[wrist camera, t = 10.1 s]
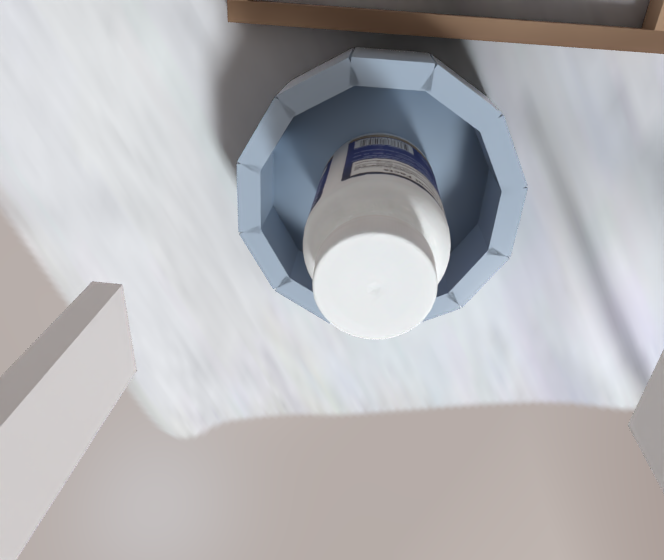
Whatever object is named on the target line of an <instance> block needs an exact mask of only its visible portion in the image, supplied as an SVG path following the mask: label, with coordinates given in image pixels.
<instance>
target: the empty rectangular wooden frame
mask: <svg viewBox="0 0 664 560" xmlns="http://www.w3.org/2000/svg"><path fill="white" fill-rule="evenodd" d="M227 11H228V22H236V23H249V24H263V25H277V26H290V27H304V28H318V29H331V30H345V31H359V32H372V33H386V34H400V35H413V36H427V37H441V38H454V39H468V40H482V41H495V42H509V43H522V44H536V45H550V46H563V47H577V48H591V49H604V50H618V51H632V52H645V53H659V54H664V0H650V2H649V5H648V8H647V11H646V15H645V18H644V21H643V24H642V27H641V28H632V27H618V26H604V25H590V24H576V23H562V22H548V21H534V20H520V19H506V18H492V17H478V16H464V15H450V14H436V13H422V12H408V11H394V10H380V9H366V8H352V7H338V6H324V5H310V4H296V3H282V2H268V1H254V0H227Z"/></svg>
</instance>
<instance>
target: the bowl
mask: <svg viewBox="0 0 664 560" xmlns="http://www.w3.org/2000/svg"><path fill="white" fill-rule="evenodd" d="M368 133H388V134H393V135H397V136H400V137H402V138H404V139H406V140H408V141H410V142H411V143H413V144H414V145H415V146H417V147H418V148H419V149H420V150H421V152H422V153H423V154H424V155H425V157H426V158H427V160H428V162H429V163H430V165H431V168H432V170H433V173H434V176H435V179H436V183H437V187H438V191H439V194H440V198H441V201H442V205H443V209H444V212H445V216H446V219H447V224H448V227H449V231H450V242H451V248H450V257H449V262H448V265H447V268H446V271H445V273H444V275H443V277H442V279H441V280H440V282H439V283H438V286H437V295H436V299H435V302H434V304H433V306H432V309H431V310H430V312H429V313H428V315H427V316H426V317H425V318H424V320H423V321H422V322H424V321H426V320H429V319H432V318H435V317H438V316H441V315H443V314H446V313H449V312H452V311H455V310H458V309H460V306H461V307H463V306H464V305H465V304H466V303H467V302H468V301H469V300H470V299H471V298H472V297H473V296H474V295H475V294H476V293H477V292H478V291H479V290H480V289H481V288H482V286H483V285H484V284H485V283H486V282H487V281H488V280H489V279H490V278H491V277H492V276H493V275H494V274H495V273H496V272H497V271H498V270H499V269H500V268H501V267H502V266H503V265H504V264H505V263H506V262H507V261H508V260H509V257H508V256H510V257H511V253H512V249H513V245H514V241H515V237H516V233H517V229H518V225H519V221H520V217H521V213H522V209H523V205H524V201H525V198H526V194H527V190H528V188H527V183H526V180H525V177H524V174H523V171H522V168H521V165H520V162H519V159H518V156H517V153H516V150H515V147H514V144H513V141H512V139H511V136H510V133H509V130H508V127H507V124H506V121H505V118H504V115H503V114H502V113H501V111H500V110H499V109H498V108H497V107H496V106H495V105H494V104H493V103H492V102H491V101H490V100H489V99H488V97H487V96H486V95H484V94H483V93H482V92H480V91H479V90H478V89H476V88H475V87H474V86H472V85H471V84H470V83H469V82H467V81H466V80H465V79H463V78H462V77H461V76H459V75H458V74H457V73H455V72H454V71H453V70H451V69H450V68H449V67H448V66H446V65H445V64H444V63H442V62H441V61H440V60H438V59H437V58H436V57H434V56H433V55H432V54H429V53H428V52H416V51H402V50H389V49H376V48H362V47H355V50H354V48H351V49H349V50H348V51H346V52H344V53H342V54H340V55H338V56H336V57H334V58H332V59H331V60H329V61H327V62H325V63H323V64H321V65H319V66H317V67H315V68H314V69H312V70H310V71H308V72H306V73H304V74H302V75H300V76H298V77H297V78H295V79H293V80H291V81H290V82H289V83H288V84H287V85H286V86H285V87H284V88H283V89H282V90H281V91H280V92H279V93H278V94H277V95H276V96H275V97H274V99H273V101H272V102H271V104H270V106H269V108H268V109H267V111H266V113H265V114H264V116H263V118H262V120H261V121H260V123H259V125H258V127H257V128H256V130H255V132H254V133H253V135H252V137H251V139H250V140H249V142H248V144H247V145H246V147H245V149H244V151H243V152H242V154H241V156H240V157H239V159H238V161H237V162H238V163H237V196H238V230H239V232H240V234H239V235H240V236H241V238H242V239H243V241H244V243H245V244H246V246H247V247H248V249H249V251H250V252H251V254H252V256H253V257H254V259H255V260H256V262H257V264H258V265H259V267H260V269H261V270H262V272H263V273H264V275H265V277H266V278H267V280H268V281H269V283H270V285H271V286H272V288H273V289H275V288H276V289H275V291H276V292H278V293H279V294H281V295H283V296H284V297H286V298H288V299H289V300H291V301H293V302H294V303H296V304H298V305H299V306H301V307H303V308H305V309H306V310H308V311H310V312H311V313H313V314H315V315H316V316H318V317H320V318H321V319H323V320H325V321H326V322H328V323H330V322H329V321H328V320H327V319H326V318H325V317H324V315H323V314H322V313H321V311H320V310H319V308H318V306H317V304H316V302H315V299H314V294H313V288H312V278H311V276H310V274H309V272H308V270H307V267H306V264H305V260H304V255H303V237H304V229H305V225H306V222H307V219H308V216H309V213H310V210H311V207H312V204H313V201H314V198H315V195H316V192H317V188H318V185H319V182H320V178H321V175H322V173H323V171H324V168H325V166H326V164H327V162H328V161H329V159H330V158H331V157H332V155H333V154H334V153H335V152H336V151H337V149H339V148H340V147H341V146H342V145H343V144H345V143H346V142H348V141H349V140H351V139H353V138H355V137H357V136H360V135H364V134H368Z"/></svg>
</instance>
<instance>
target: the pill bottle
mask: <svg viewBox="0 0 664 560" xmlns="http://www.w3.org/2000/svg"><path fill="white" fill-rule="evenodd" d="M450 248H451V242H450V231H449V227H448V224H447V219H446V216H445V212H444V209H443V205H442V201H441V198H440V194H439V191H438V187H437V183H436V179H435V176H434V173H433V170H432V168H431V165H430V163H429V162H428V160H427V158H426V157H425V155H424V154H423V153H422V152H421V150H420V149H419V148H418V147H417V146H415V145H414V144H413V143H411V142H410V141H408V140H406V139H404V138H402V137H400V136H397V135H393V134H388V133H368V134H364V135H360V136H357V137H355V138H353V139H351V140H349V141H348V142H346V143H345V144H343V145H342V146H341V147H340V148H339V149H337V151H336V152H335V153H334V154H333V155H332V157H331V158H330V159H329V161H328V162H327V164H326V166H325V168H324V171H323V173H322V175H321V178H320V182H319V185H318V188H317V192H316V195H315V198H314V201H313V204H312V207H311V210H310V213H309V216H308V219H307V222H306V225H305V229H304V237H303V255H304V260H305V264H306V267H307V270H308V272H309V274H310V276H311V278H312V288H313V294H314V299H315V302H316V304H317V306H318V308H319V310H320V311H321V313H322V314H323V315H324V317H325V318H326V319H327V320H328V321H329V322H330V323H331V324H332V325H334V326H335V327H336V328H338V329H339V330H341V331H343V332H345V333H347V334H349V335H352V336H355V337H359V338H364V339H375V340H380V339H388V338H392V337H396V336H399V335H402V334H404V333H406V332H408V331H410V330H411V329H413V328H415V327H416V326H417V325H418V324H420V323H421V322H422V321H423V320H424V318H425V317H426V316H427V315H428V313H429V312H430V310H431V309H432V306H433V304H434V302H435V299H436V295H437V286H438V283H439V282H440V280H441V279H442V277H443V275H444V273H445V271H446V268H447V265H448V262H449V257H450Z"/></svg>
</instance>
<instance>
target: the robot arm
mask: <svg viewBox="0 0 664 560" xmlns="http://www.w3.org/2000/svg"><path fill="white" fill-rule="evenodd" d="M136 371H137V369H136V363H135V357H134V351H133V345H132V339H131V333H130V327H129V321H128V315H127V309H126V303H125V297H124V291H123V285H122V284H112V283H102V282H93V281H92V282H91V283H90V284H89V285H88V287H87V288H86V289H85V290H84V291H83V292H82V293H81V294H80V295H79V296H78V297H77V298H76V299H75V300H74V301H73V302H72V303H71V304H70V305H69V306H68V307H67V308H66V309H65V310H64V312H62V314H61V315H60V316H59V317H58V318H57V319H56V320H55V321H54V322H53V323H52V324H51V325H50V326H49V327H48V328H47V329H46V330H45V331H44V332H43V333H42V334H41V336H40V337H38V339H36V341H35V342H34V343H33V344H32V345H31V346H30V347H29V348H28V349H27V350H26V351H25V352H24V353H23V354H22V355H21V356H20V357H19V358H18V359H17V360H16V361H15V362H14V363H13V364H12V366H10V368H9V369H8V370H7V371H6V372H5V373H4V374H3V375H2V376H1V377H0V560H17V558H18V557H19V555H20V553H21V552H22V550H23V549H24V547H25V546H26V544H27V542H28V541H29V539H30V538H31V536H32V535H33V533H34V531H35V530H36V528H37V527H38V525H39V524H40V522H41V520H42V519H43V517H44V516H45V514H46V513H47V511H48V509H49V507H50V506H51V505H52V503H53V502H54V500H55V498H56V497H57V495H58V494H59V492H60V491H61V489H62V487H63V486H64V484H65V483H66V481H67V480H68V478H69V476H70V475H71V473H72V472H73V470H74V469H75V467H76V465H77V464H78V462H79V461H80V459H81V458H82V456H83V454H84V453H85V451H86V450H87V448H88V447H89V445H90V443H91V442H92V440H93V439H94V437H95V435H96V434H97V432H98V431H99V429H100V428H101V426H102V424H103V423H104V421H105V420H106V418H107V417H108V415H109V414H110V412H111V410H112V409H113V407H114V406H115V404H116V403H117V401H118V399H119V398H120V396H121V395H122V393H123V392H124V390H125V388H126V387H127V385H128V384H129V382H130V381H131V379H132V377H133V376H134V374H135V373H136ZM628 426H629V428H630V430H631V432H632V434H633V436H634V438H635V440H636V442H637V444H638V445H639V447H640V449H641V451H642V453H643V455H644V457H645V459H646V461H647V463H648V465H649V467H650V469H651V470H652V472H653V474H654V476H655V478H656V480H657V482H658V484H659V485H660V488H661V490H662V491H663V493H664V350H663V352H662V354H661V356H660V358H659V360H658V363H657V365H656V367H655V369H654V371H653V373H652V375H651V377H650V379H649V382H648V384H647V386H646V388H645V390H644V392H643V394H642V396H641V398H640V401H639V403H638V405H637V407H636V409H635V411H634V413H633V416H632V417H631V420H630V422H629V424H628Z"/></svg>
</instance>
